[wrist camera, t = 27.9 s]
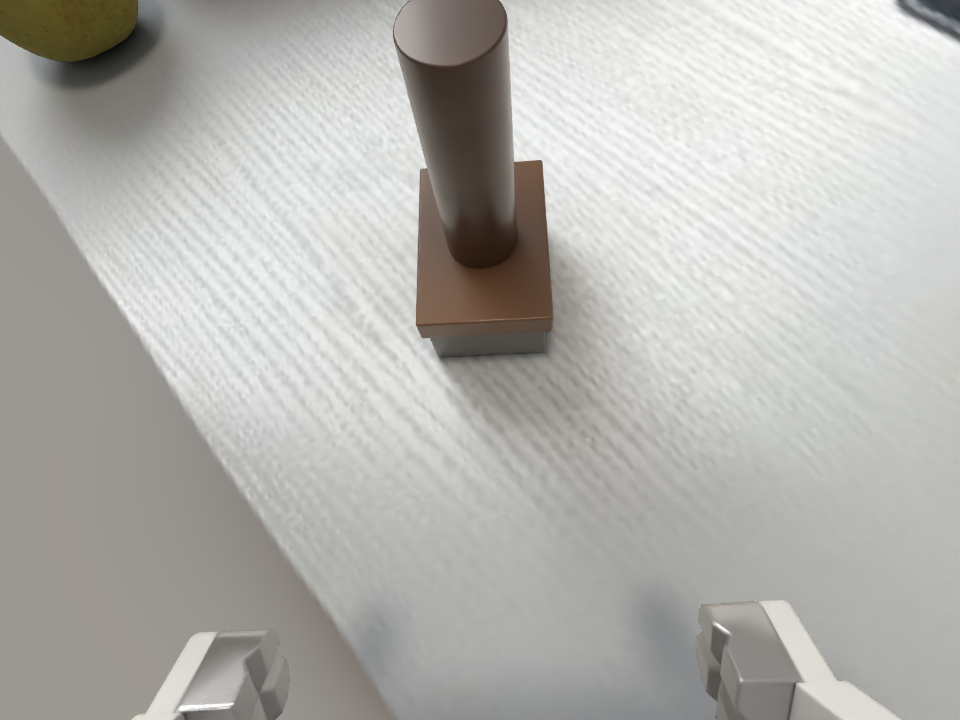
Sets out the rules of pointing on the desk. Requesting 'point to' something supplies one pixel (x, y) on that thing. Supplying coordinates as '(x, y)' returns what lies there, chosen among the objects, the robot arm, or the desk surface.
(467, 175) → the brown peg stand
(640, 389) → the desk surface
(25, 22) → the apple
